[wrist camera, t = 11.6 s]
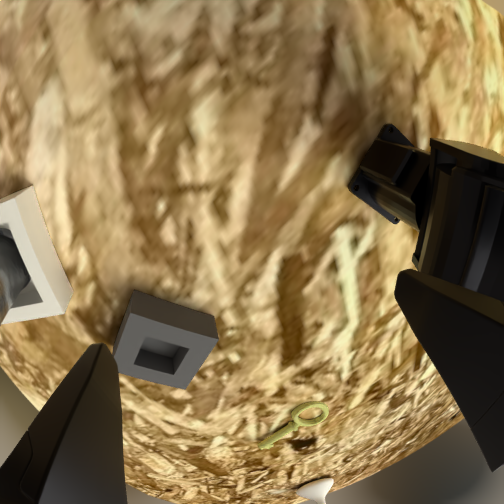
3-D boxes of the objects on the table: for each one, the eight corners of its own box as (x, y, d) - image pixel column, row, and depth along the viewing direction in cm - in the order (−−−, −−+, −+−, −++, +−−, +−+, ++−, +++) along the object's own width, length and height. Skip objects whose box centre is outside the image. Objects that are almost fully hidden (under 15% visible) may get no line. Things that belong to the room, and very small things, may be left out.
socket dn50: (33, 185, 15) (14, 197, 13) (73, 291, 20) (64, 313, 17) (-39, 218, 14) (-57, 232, 12) (1, 306, 19) (-10, 326, 16)
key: (252, 439, 38) (255, 451, 36) (303, 397, 35) (308, 409, 33) (287, 440, 41) (290, 450, 39) (337, 400, 38) (342, 411, 36)
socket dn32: (214, 316, 24) (218, 339, 22) (183, 366, 26) (185, 389, 24) (134, 289, 21) (130, 312, 19) (113, 346, 23) (109, 370, 21)
